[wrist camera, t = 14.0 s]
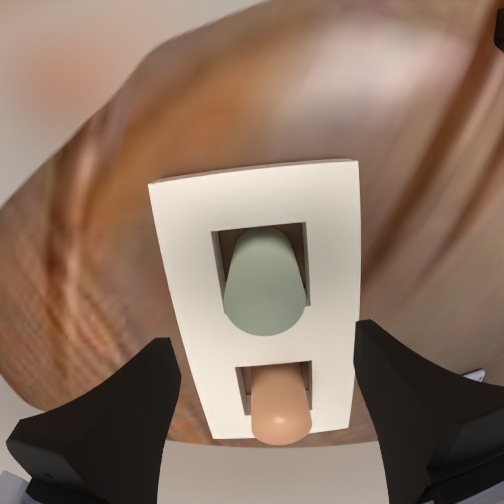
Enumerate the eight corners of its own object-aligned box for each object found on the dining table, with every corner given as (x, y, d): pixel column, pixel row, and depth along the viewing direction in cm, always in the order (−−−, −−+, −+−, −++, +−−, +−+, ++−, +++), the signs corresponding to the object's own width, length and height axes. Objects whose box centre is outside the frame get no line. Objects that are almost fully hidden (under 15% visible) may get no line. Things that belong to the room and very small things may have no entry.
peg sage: (295, 278, 22) (307, 332, 16) (237, 284, 22) (230, 339, 16) (290, 222, 21) (303, 260, 15) (229, 229, 21) (217, 269, 15)
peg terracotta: (305, 379, 25) (317, 436, 19) (259, 391, 26) (262, 450, 19) (292, 343, 24) (304, 400, 18) (243, 357, 24) (242, 416, 18)
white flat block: (343, 408, 27) (348, 427, 24) (216, 418, 27) (213, 438, 25) (346, 158, 19) (357, 161, 17) (160, 178, 20) (147, 184, 18)
